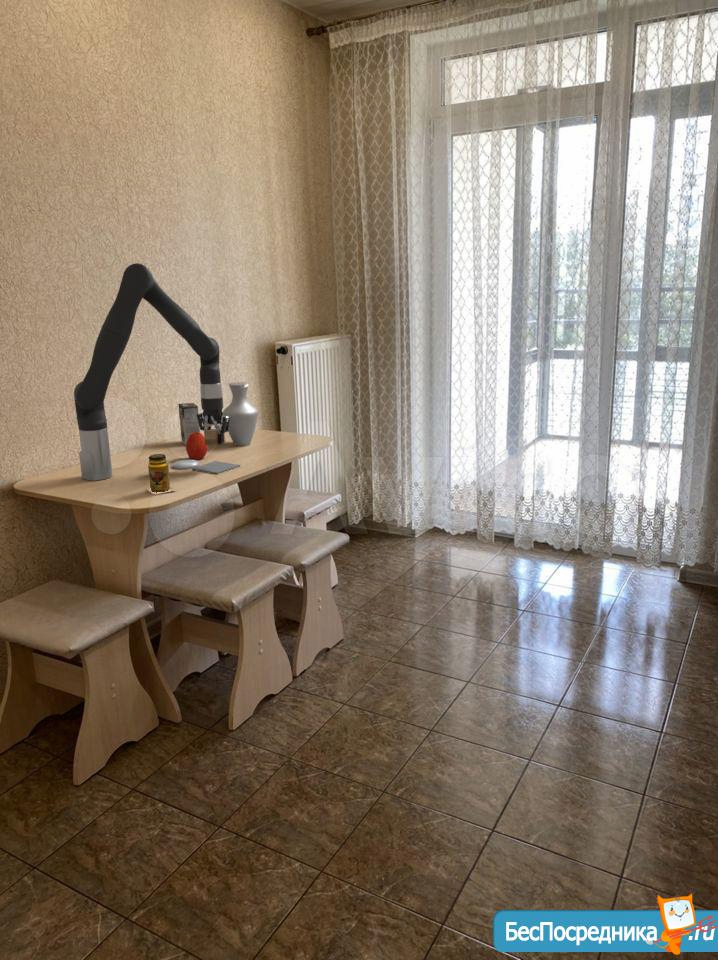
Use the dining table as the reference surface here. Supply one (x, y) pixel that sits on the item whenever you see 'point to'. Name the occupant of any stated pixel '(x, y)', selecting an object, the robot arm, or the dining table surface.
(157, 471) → the condiment
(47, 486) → the dining table surface
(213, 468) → the slate pad
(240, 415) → the vase
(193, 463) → the saucer
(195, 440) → the red egg
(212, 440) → the walnut block
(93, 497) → the dining table surface
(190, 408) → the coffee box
